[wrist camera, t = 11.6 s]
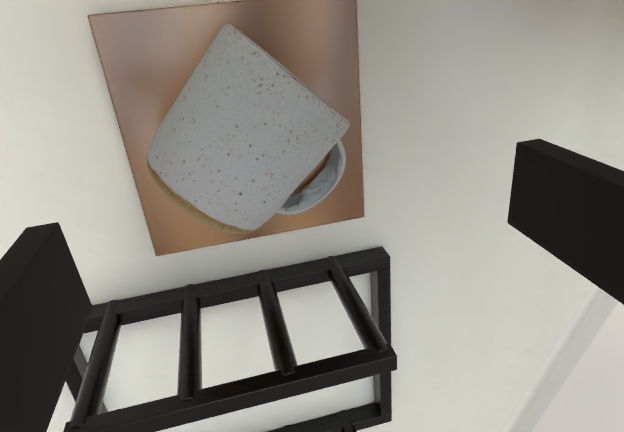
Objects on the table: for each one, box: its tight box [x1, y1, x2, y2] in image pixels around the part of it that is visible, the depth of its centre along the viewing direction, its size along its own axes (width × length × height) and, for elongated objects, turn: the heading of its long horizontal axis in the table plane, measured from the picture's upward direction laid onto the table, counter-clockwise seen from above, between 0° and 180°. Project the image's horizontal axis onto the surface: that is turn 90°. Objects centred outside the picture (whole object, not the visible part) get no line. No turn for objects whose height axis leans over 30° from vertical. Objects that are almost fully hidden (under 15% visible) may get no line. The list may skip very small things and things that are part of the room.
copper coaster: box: [88, 0, 364, 256], centre depth 26 cm, size 14×14×1 cm
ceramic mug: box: [147, 24, 350, 234], centre depth 23 cm, size 11×8×8 cm
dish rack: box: [63, 247, 397, 432], centre depth 29 cm, size 23×17×10 cm
